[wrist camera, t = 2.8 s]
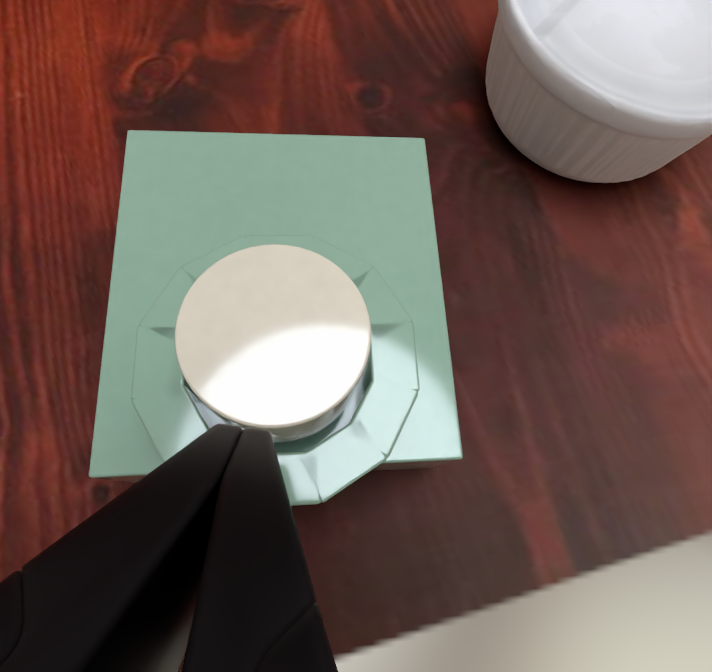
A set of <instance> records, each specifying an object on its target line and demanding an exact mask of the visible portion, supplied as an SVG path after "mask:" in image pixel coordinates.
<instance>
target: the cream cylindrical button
mask: <svg viewBox="0 0 712 672" xmlns="http://www.w3.org/2000/svg"><path fill="white" fill-rule="evenodd" d="M370 346H371V324H370V317H369V313H368V310H367V306H366V304H365V302H364V299H363V297H362V295H361V293H360V292H359V290H358V288H357V286H356V285H355V284H354V282H353V281H352V280H351V279H350V277H349V276H348V275H347V274H346V273H345V272H344V271H343V270H342V269H341V268H339V267H338V266H337V265H335V264H334V263H333V262H331V261H330V260H328V259H327V258H325V257H323V256H321V255H319V254H317V253H315V252H312V251H310V250H307V249H304V248H300V247H296V246H290V245H280V244H270V245H259V246H253V247H249V248H246V249H242V250H239V251H237V252H234V253H232V254H230V255H227V256H226V257H224V258H222V259H220V260H219V261H217V262H216V263H214V264H213V265H212V266H210V267H209V268H208V269H207V270H206V271H205V272H204V273H203V274H202V275H201V276H199V278H198V279H197V280H196V281H195V283H194V284H193V285H192V286H191V288H190V289H189V291H188V293H187V294H186V296H185V298H184V300H183V302H182V305H181V307H180V309H179V313H178V317H177V320H176V327H175V350H176V356H177V360H178V363H179V367H180V370H181V372H182V374H183V376H184V378H185V380H186V382H187V383H188V385H189V386H190V388H191V389H192V391H193V392H194V393H195V394H196V396H197V397H198V398H199V399H200V400H201V401H202V402H203V403H204V404H205V405H206V406H207V407H208V408H209V409H210V410H211V411H212V412H213V413H214V414H215V415H216V416H217V417H218V418H220V419H221V420H222V421H223V422H224V423H225V424H230V425H237V426H241V427H242V428H243V430H244V429H245V428H247V427H252V428H259V429H266V430H269V431H270V433H271V435H272V439H273V442H289V441H295V440H299V439H303V438H305V437H308V436H311V435H313V434H315V433H317V432H318V431H320V430H322V429H324V428H325V427H326V426H328V425H329V424H330V423H332V422H333V421H334V420H335V419H336V418H337V417H338V416H339V415H340V413H341V412H342V411H343V410H344V408H345V407H346V405H347V404H348V402H349V401H350V399H351V397H352V395H353V392H354V390H355V388H356V386H357V384H358V382H359V380H360V377H361V375H362V373H363V371H364V368H365V366H366V364H367V360H368V357H369V353H370Z"/></svg>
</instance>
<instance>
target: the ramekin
mask: <svg viewBox="0 0 712 672" xmlns="http://www.w3.org/2000/svg"><path fill="white" fill-rule="evenodd" d="M498 10H499V11H498V15H497V19H496V23H495V27H494V32H493V36H492V41H491V46H490V50H489V55H488V60H487V66H486V79H485V83H486V94H487V98H488V103H489V106H490V108H491V110H492V113H493V116H494V118H495V120H496V122H497V124H498V126H499V127H500V129H501V131H502V132H503V134H504V135H505V136H506V137H507V139H508V140H509V141H510V142H511V143H512V144H513V145H514V146H515V147H516V148H517V149H518V150H519V151H520V152H521V153H522V154H524V155H525V156H526V157H527V158H529V159H530V160H531V161H533V162H534V163H536V164H538V165H539V166H541V167H543V168H545V169H547V170H549V171H551V172H553V173H555V174H558V175H560V176H563V177H566V178H569V179H574V180H578V181H584V182H595V183H617V182H622V181H630V180H633V179H635V178H640V177H643V176H646V175H648V174H649V173H651V172H654V171H656V170H658V169H659V168H661V167H663V166H664V165H666V164H667V163H669V162H670V161H672V160H673V159H675V158H676V157H678V156H679V155H681V154H683V153H684V152H686V151H687V150H689V149H690V148H692V147H693V146H695V145H697V144H698V143H700V142H701V141H703V140H704V139H706V138H707V137H708V136H710V135H712V0H498Z"/></svg>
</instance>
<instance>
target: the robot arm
mask: <svg viewBox="0 0 712 672" xmlns="http://www.w3.org/2000/svg"><path fill="white" fill-rule="evenodd" d="M316 604H317V600H316V596H315V593H314V589H313V585H312V582H311V578H310V574H309V571H308V567H307V563H306V560H305V556H304V552H303V549H302V545H301V541H300V538H299V534H298V530H297V527H296V523H295V519H294V516H293V512H292V508H291V505H290V501H289V497H288V494H287V490H286V486H285V483H284V479H283V475H282V472H281V468H280V464H279V461H278V457H277V453H276V450H275V446H274V442H273V439H272V435H271V433H270V431H269V430H266V429H259V428H252V427H247V428H245V429H244V430H243V428H242V427H241V426H237V425H230V424H222V423H218V424H216V425H214V426H213V427H211V428H210V429H209V430H207V431H206V432H204V433H203V434H202V435H200V436H199V437H198V438H196V439H195V440H194V441H192V442H191V443H190V444H188V445H187V446H185V447H184V448H183V449H181V450H180V451H179V452H177V453H176V454H175V455H173V456H172V457H170V458H169V459H168V460H166V461H165V462H164V463H162V464H161V465H160V466H158V467H157V468H156V469H154V470H153V471H151V472H150V473H149V474H147V475H146V476H145V477H143V478H142V479H141V480H139V481H138V482H136V483H135V484H134V485H132V486H131V487H130V488H128V489H127V490H126V491H124V492H123V493H122V494H120V495H119V496H117V497H116V498H115V499H113V500H112V501H111V502H109V503H108V504H107V505H105V506H104V507H102V508H101V509H100V510H98V511H97V512H96V513H94V514H93V515H92V516H90V517H89V518H88V519H86V520H85V521H83V522H82V523H81V524H79V525H78V526H77V527H75V528H74V529H73V530H71V531H70V532H69V533H67V534H66V535H64V536H63V537H62V538H60V539H59V540H58V541H56V542H55V543H54V544H52V545H51V546H49V547H48V548H47V549H45V550H44V551H43V552H41V553H40V554H39V555H37V556H36V557H35V558H33V559H32V560H30V561H29V562H28V563H26V564H25V565H24V566H23V567H22V572H21V571H15V572H14V573H12V574H11V575H10V576H8V577H7V578H6V579H4V580H3V581H1V582H0V672H178V671H179V668H180V665H181V663H182V660H183V657H184V655H185V659H184V664H183V669H182V672H338V670H337V667H336V664H335V661H334V657H333V654H332V651H331V648H330V645H329V641H328V638H327V635H326V631H325V628H324V624H323V621H322V617H321V613H320V610H319V607H318V606H317V605H316ZM185 652H186V654H185Z"/></svg>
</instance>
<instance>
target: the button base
mask: <svg viewBox="0 0 712 672" xmlns="http://www.w3.org/2000/svg"><path fill="white" fill-rule="evenodd" d="M270 244H280V245H290V246H296V247H300V248H304V249H307V250H310V251H312V252H315V253H317V254H319V255H321V256H323V257H325V258H327V259H328V260H330V261H331V262H333V263H334V264H335V265H337V266H338V267H339V268H341V269H342V270H343V271H344V272H345V273H346V274H347V275H348V276H349V277H350V279H351V280H352V281H353V282H354V284H355V285H356V286H357V288H358V290H359V292H360V293H361V295H362V297H363V299H364V302H365V304H366V306H367V310H368V313H369V317H370V324H371V346H370V353H369V357H368V360H367V364H366V366H365V368H364V371H363V373H362V375H361V377H360V380H359V382H358V384H357V386H356V388H355V390H354V392H353V395H352V397H351V399H350V401H349V402H348V404H347V405H346V407H345V408H344V410H343V411H342V412H341V413H340V415H339V416H338V417H337V418H336V419H335V420H334V421H333V422H332V423H330V424H329V425H328V426H326V427H325V428H324V429H322V430H320V431H318V432H317V433H315V434H313V435H311V436H308V437H305V438H303V439H299V440H295V441H289V442H274V446H275V450H276V453H277V457H278V461H279V464H280V468H281V472H282V475H283V479H284V483H285V486H286V490H287V494H288V497H289V501H290V505H291V506H297V505H314V504H319V503H321V502H322V503H323V502H326V501H327V500H329V499H330V498H331V497H333V496H334V495H336V494H337V493H339V492H340V491H342V490H343V489H345V488H346V487H348V486H349V485H351V484H352V483H354V482H355V481H356V480H358V479H359V478H361V477H362V476H364V475H365V474H367V473H368V472H370V471H376V470H395V469H414V468H429V467H433V466H437V465H441V464H444V463H448V462H452V461H456V460H460V459H462V457H463V455H462V446H461V438H460V430H459V421H458V413H457V405H456V396H455V388H454V380H453V371H452V363H451V355H450V346H449V338H448V330H447V321H446V313H445V305H444V296H443V288H442V280H441V271H440V263H439V255H438V246H437V238H436V230H435V221H434V213H433V205H432V196H431V188H430V180H429V171H428V163H427V155H426V146H425V139H424V138H403V137H366V136H329V135H291V134H254V133H217V132H180V131H143V130H128V132H127V141H126V150H125V159H124V168H123V177H122V185H121V194H120V203H119V212H118V221H117V230H116V239H115V247H114V256H113V265H112V274H111V283H110V292H109V301H108V310H107V318H106V327H105V336H104V345H103V354H102V363H101V372H100V381H99V389H98V398H97V407H96V416H95V425H94V434H93V443H92V452H91V460H90V469H89V477H91V478H97V479H107V480H117V481H127V482H138V481H139V480H141V479H142V478H143V477H145V476H146V475H147V474H149V473H150V472H151V471H153V470H154V469H156V468H157V467H158V466H160V465H161V464H162V463H164V462H165V461H166V460H168V459H169V458H170V457H172V456H173V455H175V454H176V453H177V452H179V451H180V450H181V449H183V448H184V447H185V446H187V445H188V444H190V443H191V442H192V441H194V440H195V439H196V438H198V437H199V436H200V435H202V434H203V433H204V432H206V431H207V430H209V429H210V428H211V427H213V426H214V425H216V424H218V423H222V424H225V423H224V422H223V421H222V420H221V419H220V418H218V417H217V416H216V415H215V414H214V413H213V412H212V411H211V410H210V409H209V408H208V407H207V406H206V405H205V404H204V403H203V402H202V401H201V400H200V399H199V398H198V397H197V396H196V394H195V393H194V392H193V391H192V389H191V388H190V386H189V385H188V383H187V382H186V380H185V378H184V376H183V374H182V372H181V370H180V367H179V363H178V360H177V356H176V350H175V327H176V320H177V317H178V313H179V309H180V307H181V305H182V302H183V300H184V298H185V296H186V294H187V293H188V291H189V289H190V288H191V286H192V285H193V284H194V283H195V281H196V280H197V279H198V278H199V276H201V275H202V274H203V273H204V272H205V271H206V270H207V269H208V268H209V267H210V266H212V265H213V264H214V263H216V262H217V261H219V260H220V259H222V258H224V257H226V256H227V255H230V254H232V253H234V252H237V251H239V250H242V249H246V248H249V247H253V246H259V245H270Z"/></svg>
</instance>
